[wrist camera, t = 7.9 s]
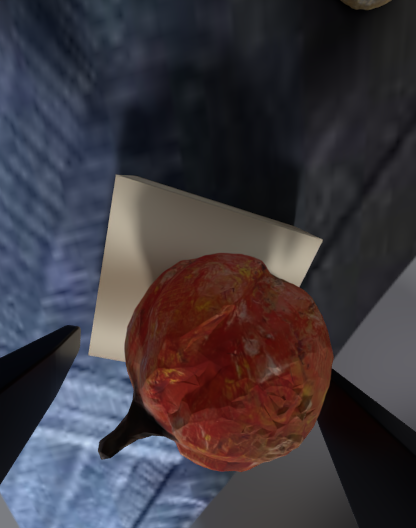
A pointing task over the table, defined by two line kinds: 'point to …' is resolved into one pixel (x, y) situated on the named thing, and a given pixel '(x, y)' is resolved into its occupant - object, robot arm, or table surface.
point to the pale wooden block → (179, 248)
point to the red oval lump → (224, 364)
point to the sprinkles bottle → (365, 3)
